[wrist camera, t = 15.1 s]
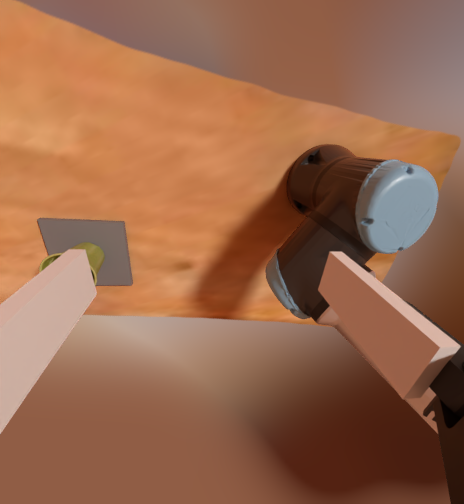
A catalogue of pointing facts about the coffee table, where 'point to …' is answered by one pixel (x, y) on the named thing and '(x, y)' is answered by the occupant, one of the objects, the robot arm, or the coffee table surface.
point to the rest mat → (98, 233)
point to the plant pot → (93, 254)
